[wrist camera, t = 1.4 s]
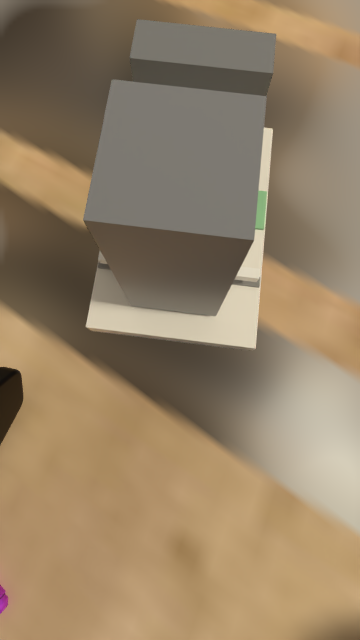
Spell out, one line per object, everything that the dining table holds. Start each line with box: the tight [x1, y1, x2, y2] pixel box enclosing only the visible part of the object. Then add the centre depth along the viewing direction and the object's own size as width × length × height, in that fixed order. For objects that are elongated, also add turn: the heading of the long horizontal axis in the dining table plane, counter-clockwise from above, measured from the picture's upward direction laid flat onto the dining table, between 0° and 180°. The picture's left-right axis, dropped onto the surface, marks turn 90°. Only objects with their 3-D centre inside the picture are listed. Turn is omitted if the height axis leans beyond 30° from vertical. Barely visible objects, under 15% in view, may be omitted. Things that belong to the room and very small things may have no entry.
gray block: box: [83, 80, 267, 316], centre depth 15 cm, size 5×9×10 cm, turn 83°
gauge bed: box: [86, 20, 276, 351], centre depth 19 cm, size 15×10×7 cm, turn 173°
